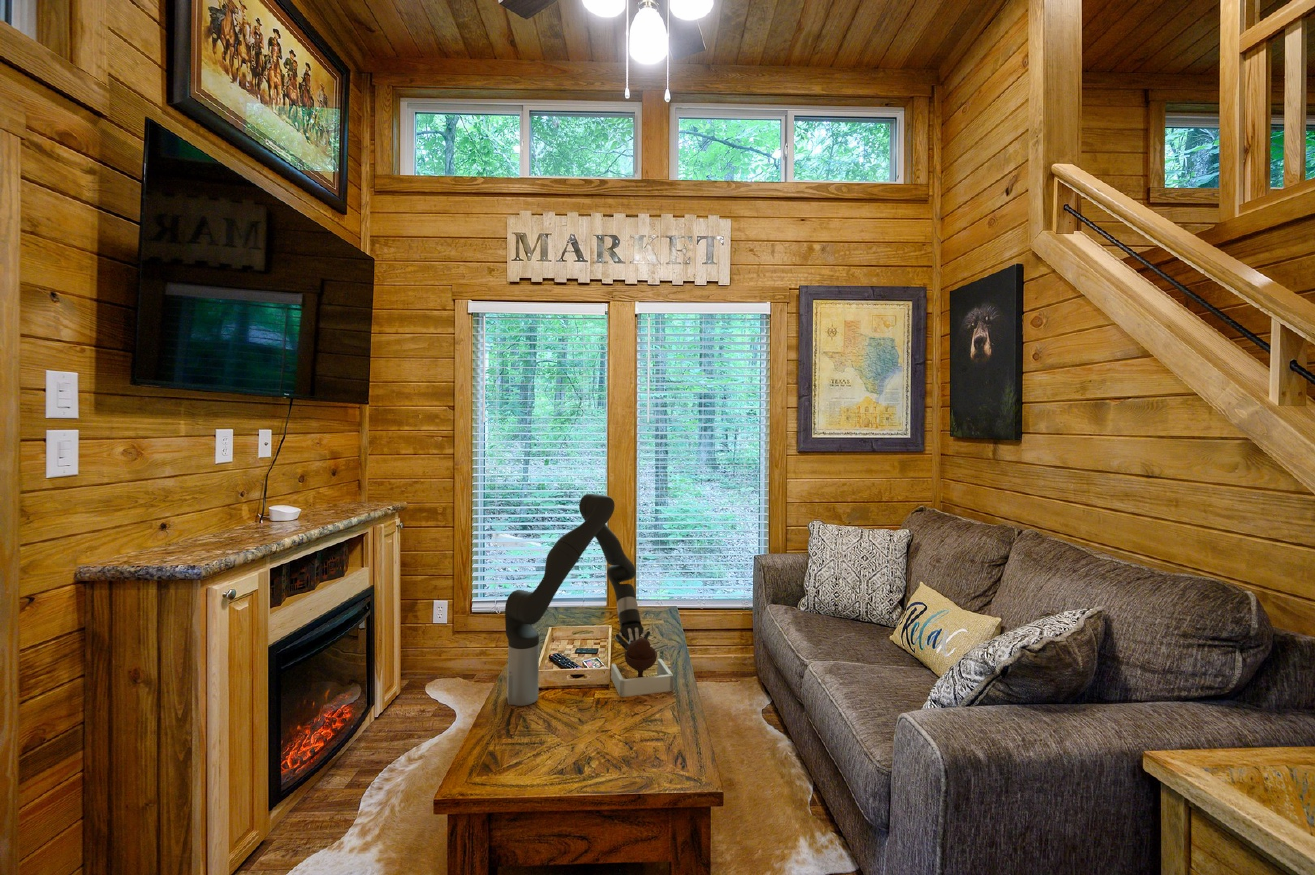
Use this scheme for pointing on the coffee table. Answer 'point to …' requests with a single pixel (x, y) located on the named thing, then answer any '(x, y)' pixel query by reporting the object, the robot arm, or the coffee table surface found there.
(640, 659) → the ice cream bowl
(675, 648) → the coffee table surface
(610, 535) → the robot arm
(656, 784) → the coffee table surface
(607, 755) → the coffee table surface
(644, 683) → the corral
